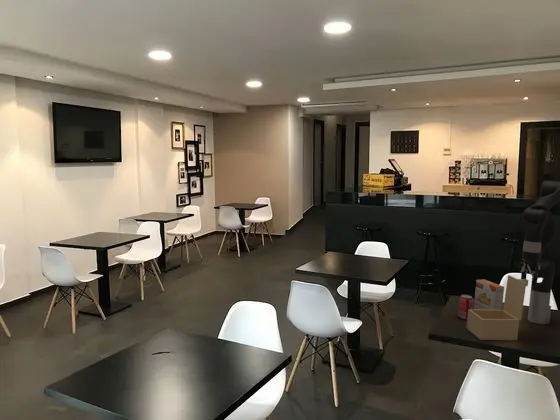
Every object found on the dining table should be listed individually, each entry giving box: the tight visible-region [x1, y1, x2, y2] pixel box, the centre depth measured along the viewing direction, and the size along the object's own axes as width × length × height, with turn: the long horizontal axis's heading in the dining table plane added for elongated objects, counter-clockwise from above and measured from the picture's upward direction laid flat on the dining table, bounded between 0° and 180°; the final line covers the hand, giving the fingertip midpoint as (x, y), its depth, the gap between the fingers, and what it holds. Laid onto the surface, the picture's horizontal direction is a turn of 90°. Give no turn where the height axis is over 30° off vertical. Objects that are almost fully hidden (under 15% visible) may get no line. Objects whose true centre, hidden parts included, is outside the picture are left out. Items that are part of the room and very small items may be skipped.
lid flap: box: [502, 274, 529, 321], centre depth 215 cm, size 18×14×6 cm
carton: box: [466, 308, 520, 341], centre depth 216 cm, size 18×14×10 cm
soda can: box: [457, 294, 474, 320], centre depth 237 cm, size 7×7×12 cm
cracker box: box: [473, 278, 505, 310], centre depth 233 cm, size 14×6×21 cm, turn 17°
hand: (528, 283), depth 214 cm, fingers open, 8 cm apart
